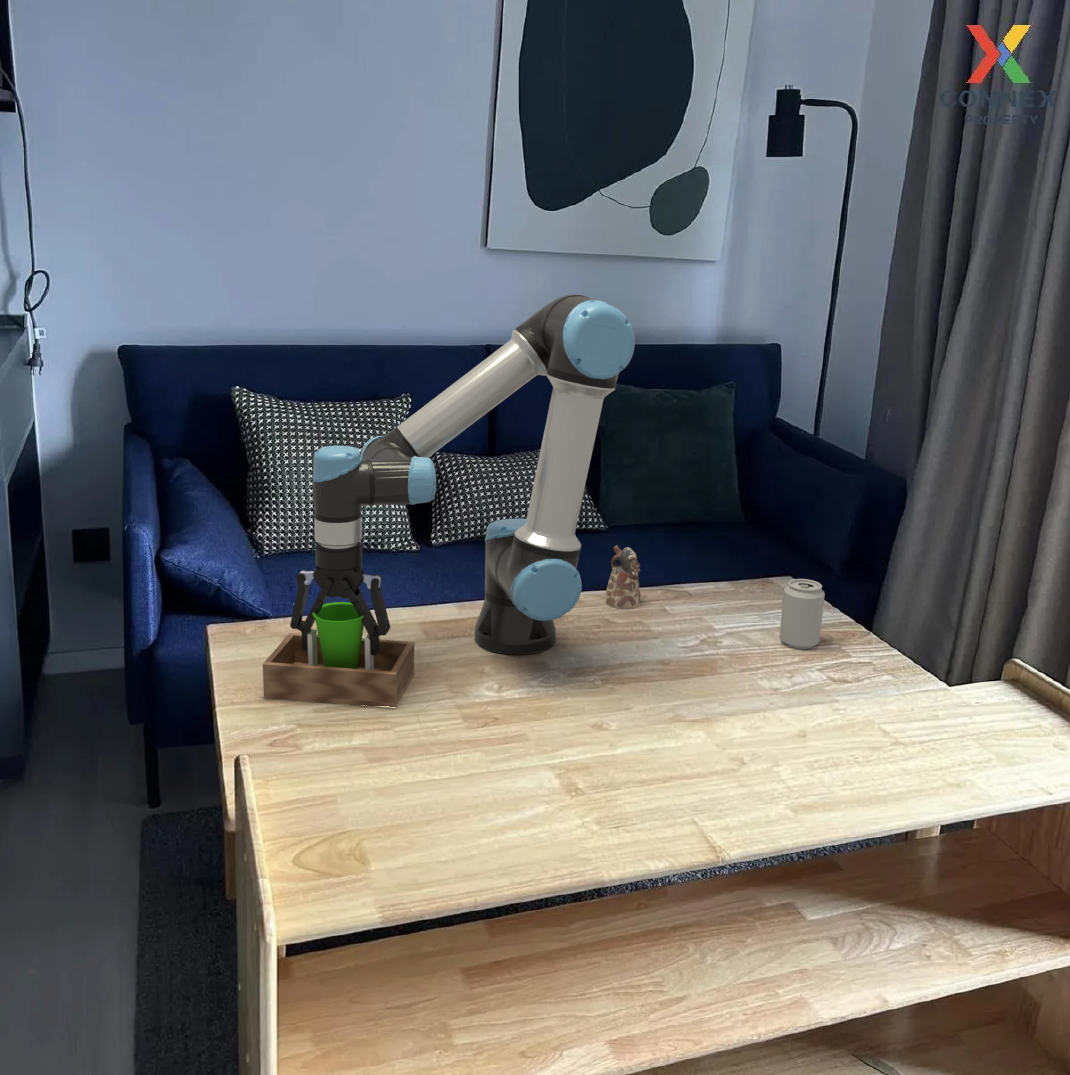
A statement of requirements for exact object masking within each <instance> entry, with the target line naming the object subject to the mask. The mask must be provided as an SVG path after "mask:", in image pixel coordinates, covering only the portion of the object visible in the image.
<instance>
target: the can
mask: <svg viewBox="0 0 1070 1075" xmlns="http://www.w3.org/2000/svg"><path fill="white" fill-rule="evenodd" d="M822 588H823V585H822V584H821V583H820V582H818V581H815V580H812V579H807V578H796V579H795V578H794V579H791V580H789V581H788V582H787V586H785V587H784V589H783V597H782V608H781V619H780V627H779V635H778V636H779V639H780V640H781V641H782V643H783V644H785V645H786V646H787V647H790V648H792V649H800V650H802V649H803V650H807V649H812V648H814V647H815V646H816V645H818V644H819V643H820V639H821V630H822V622H823V614H824V602H825V595H826V594H825V591H824V590H823V589H822Z"/></svg>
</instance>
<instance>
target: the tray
mask: <svg viewBox="0 0 1070 1075" xmlns="http://www.w3.org/2000/svg"><path fill="white" fill-rule="evenodd" d="M365 638H366V637H362V641H361V648H360V654H359V661H358V667H357V669H349V668H337V667H324V662H323V656H322V651H321V646H320V641H319V636H318V634H317V659H318V665H317V666H311V665H308V650H303V648H302V633H299V632H298V633H297V632H289V633H288V634H287V636H286V637H284V639H283V640H282V641H281V642H280V644H279V645H278V646H277V647H276V648H275V649H274V650H273V652H272V653H271V654H270V655H269V656H268V657H267V659H265V661H264V662H263V663H262V683H263V684H262V685H263V687H262V688H263V698H264V699H272V700H281V701H282V700H283V701H296V702H306V703H307V702H308V703H309V702H310V703H317V704H318V703H321V704H331V705H332V704H333V705H343V704H344V705H345V704H348V705H347V706H355V705H365V706H364V707H367V706H389V707H396V706H397V707H398V705H399V703H400V701H401V700H402V698H403V696H404V694H405V692H406V690H407V688H409V687H408V686H410V683H411V681H412V679H413V677H414V675H415V641H406V640H405V641H404V640H392V639H391V640H390V639H380V638H379V652H378V653H377V655H374V669H373V670H365ZM400 699H401V700H400ZM398 702H399V703H398ZM349 704H350V705H349ZM397 704H398V705H397ZM344 705H343V706H344ZM366 705H367V706H366ZM345 706H346V705H345ZM397 707H396V708H397Z"/></svg>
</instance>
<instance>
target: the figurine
mask: <svg viewBox="0 0 1070 1075" xmlns="http://www.w3.org/2000/svg"><path fill="white" fill-rule="evenodd" d="M613 551H614V552H615V555H614V556H613V557H612V559H611V561H610V565H611V569H612V570H611V573H610V576H609V579H608V583H607V586H606V593H605V602H606V604H607V605H608V606H609V607H612V608H614V609H620V610H623V609H624V610H626V609H627V610H628V609H629V610H630V609H637V608H638V607H640V606H641V591H640V580H639V573H640V572H641V569H640V568H641V564H640V562H639V561H638V557H637V554H636V552H635V551H634V549H632V548H631V547H629V546H627V547H626V546H625V547H624V548H623V549H621V547H619V545H615V546H614V547H613ZM617 561H618V562H619V563H620V564H619V565H617V563H616V562H617Z"/></svg>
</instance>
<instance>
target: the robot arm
mask: <svg viewBox="0 0 1070 1075" xmlns="http://www.w3.org/2000/svg"><path fill="white" fill-rule="evenodd" d="M635 339H636V338H635V333H634V329H633V326H632V324H631V322H630V320H629V319H628V317H627V316H626V315H625V314H624V313H623V312H622V311H621V310H620V309H618V308H617V307H615V306H614V305H612V304H611V303H609V302H606V301H603V300H598V299H594V298H591V297H588V296H585V295H582V294H577V293H576V294H567V295H563V296H560V297H557V298H556V299H554V300H552V301H550V302H549V303H547V304H546V305H544V306H543V307H542V308H540V309H539V310H537V312H535V313H534V314H532V315H531V316H529V318H528V319H526V320H525V321H524V322H523V323H521V324H520V325H518V326H517V327H515V329H513V330H512V332H511V338H510V339H509V341H507V342H505V344H503V345H502V346H501V347H499V348H497V349H496V350H495V351H494V352H492V354H490V355H489V356H487V358H485V359H484V360H482V361H481V362H480V363H478V364H476V366H474V367H473V368H472V369H471V370H469V371H468V372H467V373H465V374H464V375H463V376H461V377H460V378H459V379H458V380H456V381H455V382H454V383H452V384H451V385H449V386H448V387H447V388H445V390H443V391H442V392H441V393H439V394H438V395H437V396H436V397H434V398H433V399H431V400H430V401H429V402H427V403H426V404H424V406H423V407H421V408H420V409H418V410H417V411H416V412H415V413H413V414H412V415H410V416H409V417H407V419H405V420H403V422H401V423H400V424H399V425H397V426H396V427H395V428H393V429H392V430H390V431H389V432H388V433H386V435H377V436H374V437H372V438H370V439H369V440H367V441H366V442H365V444H364V445H363V447H362V449H361V450H359V449H358V448H357V447H355V446H350V445H329V446H323V447H320V448H319V449H317V450H316V451H315V453H314V455H313V473H312V474H313V475H312V485H313V486H312V488H313V511H314V512H313V515H314V540H315V542H316V543H315V546H314V551H315V552H314V554H315V556H314V557H315V568H314V570H313V571H312V570H311V571H308V570H307V569H302V570H301V571H300V572H299V573H298V574H297V575H296V582H297V592H296V596H295V600H294V605H293V609H292V615H291V620H290V625H289V627H290V629H292V630H298V631H299V632H301V634H302V648H303V650H308V665H311V666H317V665H318V659H317V635H318V631H317V628H312V627H313V626H314V624H315V623H316V621H315V618H314V617H313V615H312V613H313V612H314V613H316V615H317V614H318V613H319V612H320V610H321V608H322V606H323V604H325V602H326V601H327V598H328V597H329V598H336V597H337V598H341V599H348V601H349V602H350V603H351V604H353V606H354V608H355V610H356V612H357V613H358V615H359V617H361V616H364V617H363V618H362V620H361V621H362V623H363V625H364V629H365V630H366V632H367V635H366V636H365V637H364V638H365V670H373V669H374V655H377V653H378V652H379V639H380V637H381V636H387V634H388V632H389V631H390V630H391V624H390V618H389V615H388V611H387V608H386V603H385V600H384V596H383V592H382V580H383V577H382V575H381V574H375V575H371V574H370V575H369V574H366V572H365V571H364V568H363V544H362V542H361V540H362V539H363V536H362V533H363V532H362V528H363V527H362V526H363V525H362V516H363V515H362V508H363V507H364V506H365V507H369V506H391V505H412V506H413V505H416V504H424V503H429V502H431V501H433V499H434V498H435V495H436V490H437V475H436V468H435V464H434V461H433V460H432V459H431V458H430V457H431V456H432V455H434V454H435V453H437V451H440V449H441V448H443V447H444V446H445V445H446V444H448V443H449V442H451V441H452V440H454V439H455V438H456V437H458V436H459V435H460V434H462V433H463V432H464V431H465V430H466V429H467V428H469V427H471V426H472V425H473V424H474V423H475V422H477V421H478V420H479V419H481V418H482V417H484V416H485V415H486V414H488V413H489V412H490V411H492V410H493V409H494V408H495V407H496V406H498V405H499V404H501V403H502V402H503V401H505V400H506V399H507V398H509V397H510V396H511V395H512V394H514V393H515V392H516V391H518V390H520V388H521V387H523V386H524V385H526V384H527V383H529V381H532V379H534V378H535V377H536V376H546V377H547V379H548V380H549V382H550V384H551V386H552V392H551V397H550V401H549V407H548V412H547V416H546V422H545V427H544V431H543V437H542V441H541V447H540V451H539V455H538V461H537V464H536V465H537V466H536V472H535V475H534V480H533V487H532V491H531V495H530V496H531V497H530V500H529V506H528V511H527V516H526V518H506V519H499V520H495V521H493V522H490V523H489V524H488V526H487V527H486V532H485V539H484V542H485V559H484V560H485V561H484V562H485V564H484V565H485V567H484V601H483V604H482V606H481V609H480V612H479V615H478V618H477V620H476V623H475V626H474V641H475V643H476V644H477V645H478V646H479V647H481V648H482V649H484V650H487V651H489V652H490V651H491V652H493V653H498V654H503V655H516V656H517V655H532V654H537V653H541V652H544V651H546V650H548V649H551V648H552V647H553V646H554V645H555V644H556V637H557V636H556V635H557V633H556V631H557V630H556V626H555V622H554V620H557V619H560V618H561V617H563V616H565V614H567V613H569V612H571V610H572V609H573V608H574V607H575V606H576V604H577V603H578V601H579V600H580V597H581V593H582V588H583V586H582V579H581V575H580V573H579V571H578V570H577V568H578V563H579V557H580V553H581V549H582V544H581V542H580V540H579V539H578V537H577V536H576V529H577V524H578V521H579V520H578V519H579V515H580V511H581V507H582V506H581V505H582V501H583V497H584V491H585V487H586V484H587V483H586V482H587V478H588V473H589V469H590V463H591V460H592V456H593V455H592V454H593V450H594V447H595V446H594V445H595V442H596V436H597V430H598V427H599V422H600V418H601V413H602V408H603V402H604V399H605V397H607V396H608V395H609V394H611V393H612V392H614V391H615V390H616V386H617V381H618V378H619V374H620V373H621V371H623V370H624V369H625V368H626V367H627V366H629V363H630V361H631V360H632V358H633V355H634V352H635V351H634V350H635V343H636V342H635ZM360 451H361V452H360ZM313 579H314V580H315V582H316V583H317V585H318V586H319V588H320V590H319V592H318V594H317V596H316V599H315V601H314V603H313V604H312V607H311V609H310V611H309V612H308V614H307V616H306V618H305V620H303V616H304V612H305V607H306V602H307V599H308V594H309V589H310V584H312V583H313ZM363 583H364V584H366V587H367V589H368V590H369V594H370V598H371V599H370V600H371V603H372V607H373V610H374V615H375V617H374V615H373V613H372V612H371V609H370V608H369V606H368V604H367V602H366V600H365V598H364V597H363V592H362V590H361V588H360V586H361V585H362V584H363Z"/></svg>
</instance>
